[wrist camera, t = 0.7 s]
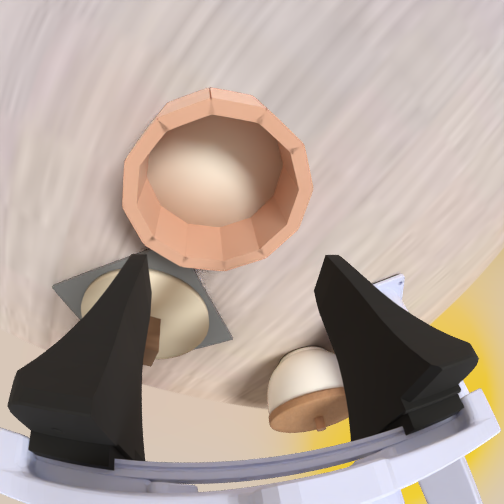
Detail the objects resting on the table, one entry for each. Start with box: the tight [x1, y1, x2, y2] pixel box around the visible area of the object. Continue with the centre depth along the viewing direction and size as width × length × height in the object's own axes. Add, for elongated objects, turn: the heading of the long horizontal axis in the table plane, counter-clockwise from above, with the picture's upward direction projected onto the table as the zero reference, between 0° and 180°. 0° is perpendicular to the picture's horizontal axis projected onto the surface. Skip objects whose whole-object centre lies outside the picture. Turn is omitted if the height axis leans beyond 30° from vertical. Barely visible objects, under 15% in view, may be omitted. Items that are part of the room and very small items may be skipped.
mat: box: [52, 249, 233, 350], centre depth 27 cm, size 13×13×1 cm
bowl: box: [122, 88, 313, 271], centre depth 17 cm, size 10×10×4 cm
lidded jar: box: [267, 347, 349, 433], centre depth 32 cm, size 11×11×9 cm
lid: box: [81, 269, 209, 366], centre depth 25 cm, size 12×12×4 cm
